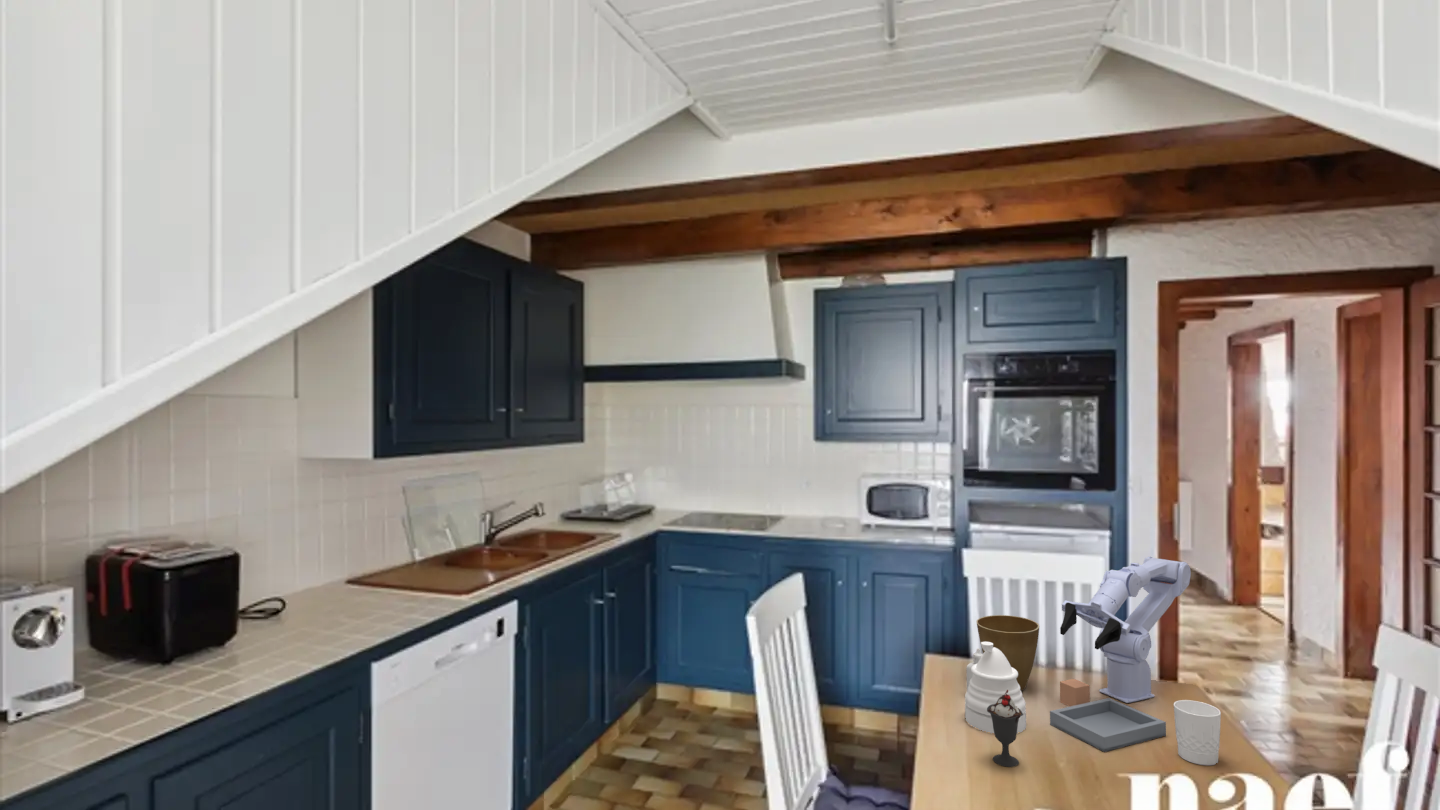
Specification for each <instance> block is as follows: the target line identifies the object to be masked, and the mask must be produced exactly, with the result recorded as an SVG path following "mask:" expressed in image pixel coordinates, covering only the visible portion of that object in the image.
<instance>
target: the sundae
mask: <svg viewBox="0 0 1440 810" xmlns="http://www.w3.org/2000/svg"><path fill="white" fill-rule="evenodd" d="M1006 693H1008V690H1007V691H1006ZM1006 693H1005V694H1006ZM987 711H988V712H989V713H990V714H991V717H992V722H993V729H994V734H993V735H994V737H995V738H996V740H997V741H998V742H999V743H1000V744H1001V747H1002V749H1001V753H999V754H996V755H994V756H993V757H992V761H993V762H994V763H995V764H997V765H998V766H1001V767H1006V768H1012V767H1017V766H1018V765H1019V764H1020V762H1019V760H1018V758H1016V757H1015V756H1012V755H1010V749H1009V748H1010V747H1009V746H1010V745H1012V744H1013V742H1014V741H1016V739H1017V735H1018V733H1017V727H1018V721H1019V718H1020V716H1022V715H1023V713H1022V711H1021V710H1020V709H1019V708H1017V706H1015V703H1014V701H1013V700H1012V699H1011V698H1010V696H1009V695H1007V694H1006V695H1002V696H1001V697H1000V698H998V700H997V702H996V704H992V705H989V706H988V708H987Z"/></svg>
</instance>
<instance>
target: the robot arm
mask: <svg viewBox="0 0 1440 810" xmlns="http://www.w3.org/2000/svg"><path fill="white" fill-rule="evenodd" d="M1191 571H1192V570H1191V566H1190V565H1189V563H1188V562H1186V561H1179V560H1178V561H1177V560H1169V559H1164V558H1157V557H1156V558H1155V557H1152V556H1147V557H1145V558H1144V560H1143V563H1142V564H1140V563H1139V562H1131V563H1130V565H1128V566H1123V567H1122V568H1121V569H1119V570H1115V569H1110V570H1105V572H1104V574H1103V578H1102V581H1101V582H1100V585H1099V588H1098V590H1097V591H1096V593H1095V594H1094V595H1093V597H1092V598H1091V599H1090V601H1088V603H1086V602H1079V601H1078V602H1077V601H1070V600H1067V599H1065V600H1064V601H1063V602H1062V603H1061V611H1063V612H1064V615H1063V616H1064V617H1063V621H1062V623H1061V624H1060V628H1059V629H1060V630H1059V631H1060V632H1059V633H1060V635H1063V636H1064V635H1066V633H1067V632H1068V631H1069V629H1070V628H1071V627H1072V626H1075V625H1076V624H1077V621H1078V620H1077V617H1079V618H1080V619H1082V620H1084V621H1085V622H1086V623H1088V624H1090V625H1092V627H1095V628H1098V629H1101V630H1100V631H1099V633H1098V636H1097V637H1096V639H1095V641H1094V649H1096V650H1100V651H1101V652H1102V653H1103V657H1104V658H1106V671H1107V672H1106V675H1107V676H1106V677H1107V678H1106V679H1107V680H1106V681H1107V687H1105V688H1101V689H1099V690H1098V692H1100V693H1102V694H1105V695H1106V696H1108V697H1112V698H1113V699H1116V700H1118V701H1120V702H1124V704H1125V703H1126V704H1128V703H1129V704H1130V703H1134V702H1139V701H1144V700H1147V699H1152V698H1155V694H1154V693H1152V673H1151V672H1152V670H1151V667H1150V664H1149V663H1148V661H1147V660H1146V659H1147V658H1148V656H1149V653H1150V649H1151V648H1152V638H1151V636H1150V635H1151V634H1150V633H1149V632H1150V631H1151V630H1152V629H1153V627H1154V626H1155V625H1156V624H1157V622H1158V621H1159V620H1160V619H1161V618H1162V616H1164V614H1165V613H1166V612H1167V610H1168V609H1169V608H1170V606H1171V605H1172V604H1173V602H1174V600H1175V598H1177V597H1181V595H1182V594H1183V593H1184V592H1185V590H1186V589H1188V587H1189V585H1190V581H1191V575H1192V573H1191ZM1141 589H1143V590H1145V592H1147V595H1146V596H1145V597H1144V599H1143V600H1141V602H1140V603H1139V604H1138V605H1137V607H1135V609H1134V610H1133V611H1132V612H1131V614H1130V615H1129V616H1128V617H1127V618H1126V619H1125V620H1124V621H1123V620H1122V619H1120V618H1118V617H1117V616H1116V613H1118V611H1119V610H1120V609H1121V607H1122V606H1123V604H1124V603H1125V601H1126V600H1127V599H1128V598H1129V597H1130V598H1131V597H1132V598H1136V597H1137V595H1138V594H1139V592H1140V591H1141Z"/></svg>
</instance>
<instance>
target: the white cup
mask: <svg viewBox="0 0 1440 810" xmlns="http://www.w3.org/2000/svg"><path fill="white" fill-rule="evenodd" d="M1173 712H1174V713H1173V715H1174V716H1173V717H1174V724H1175V725H1174V726H1175V729H1174V730H1175V735H1176V736H1175V737H1176V742H1177V753H1178V756H1179V757H1180V758H1181V759H1183V760H1185V761H1187V762H1189V763H1193V764H1195V765H1199V766H1215V765H1217V764H1218V763H1219V752H1220V751H1219V750H1220V744H1221V743H1220V742H1221V741H1220V738H1221V719H1222V717H1221V714H1222V713H1221V710H1220V709H1219V708H1217V707H1216V706H1214V705H1211V704H1209V703H1206V702H1202V701H1197V700H1190V699H1182V700H1181V699H1179V700H1176V701H1174V702H1173ZM1216 763H1217V764H1216Z"/></svg>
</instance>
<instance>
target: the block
mask: <svg viewBox="0 0 1440 810" xmlns="http://www.w3.org/2000/svg"><path fill="white" fill-rule="evenodd" d="M1090 688H1091V687H1090V685H1089V684H1087V683H1085V682H1083V681H1081V680H1078V679H1075V678H1070V679H1066V680H1061V681H1059V700H1060V701H1059V702H1060V703H1061V704H1063V705H1065V706H1067V705H1068V706H1067V707H1070V706H1075V705H1079V704H1084V703H1088V702H1091V697H1090V695H1091V693H1090V692H1091V690H1090Z"/></svg>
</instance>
